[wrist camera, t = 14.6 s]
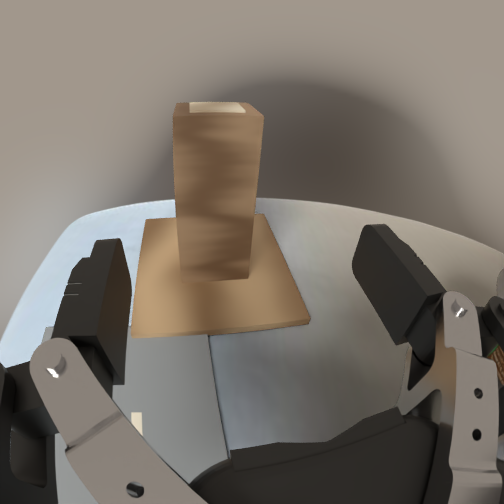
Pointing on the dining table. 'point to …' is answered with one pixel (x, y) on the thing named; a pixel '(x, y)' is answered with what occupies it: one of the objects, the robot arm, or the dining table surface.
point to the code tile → (161, 408)
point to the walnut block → (215, 187)
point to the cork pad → (212, 290)
